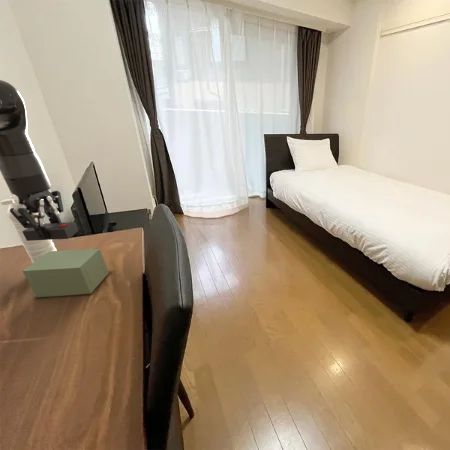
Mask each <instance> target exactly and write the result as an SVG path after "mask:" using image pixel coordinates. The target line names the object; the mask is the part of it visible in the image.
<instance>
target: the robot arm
mask: <svg viewBox="0 0 450 450" xmlns="http://www.w3.org/2000/svg"><path fill="white" fill-rule="evenodd" d="M27 117H28V116H27V109H26V104H25V100H24V97H23V96H22V94H21V93H20V92H19V91H18V90H17V88H16V87H15V86H14V85H13V84H11V83H10V82H7V81H6V80H3V79H0V173H1V175H2V177H3V179H4V181H5V184H6V185H7V187H8V190H9V191H10V193H11V194H12V195H16V196H17V197H18V200H19V205H18V206H17V207H16V208H11V209H10V212H11V213H12V214H13V216H14V217H15V218H16V219H17V220H18V221H19V222H20V224H21V225H22V226H23V227H24V228H34V230H35V232H36V234H37V236H38V238H40V239H41V240H46V239H49V238H51V236H50V234H49V232H48V230H47V227H46V225H45V226H44V224H45V219H44V218H45V217H48V221H49V223H63V222H62V220H61V213H64V204H63V199H62V194H61V191H60V190H50V189H51V188H52V184H51V182H50V179H49V176H48V174H47V172H46V170H45V167H44V165H43V162H42V160H41V158H40V156H39V155H38V154H37V152H36V150H35V147H34V144H33V142H32V140H31V138H30V135H29V131H28V130H29V129H28V118H27ZM32 213H38V214H37V215H34V214H32ZM35 218H37V219H38V222H36V221H35ZM27 221H28V222H29V223H28V222H27Z"/></svg>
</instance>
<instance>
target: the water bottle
mask: <svg viewBox="0 0 450 450" xmlns="http://www.w3.org/2000/svg"><path fill="white" fill-rule="evenodd" d="M0 203H1V205H2V206H8V208H7V211H6V216H7V217H8V219H9V221H10V222H11V225H12V226H13V229H14V230H15V232H16V234H17V236H18V238H19V241H20V243H22V246H23V248H24V249H25V251H26V253H27V255H28V258H29V259H30V261H31V264H33V263H34V262H35V261H37V260H38V259H39V258H41V257H42V256H44V255H45V254H46V253H48V252H49V251H58V250H57V248H56V247H55V243H54V242H53V239H52V240H33V241H27V240H26V238H25V236H24V234H23V232H22V231H24V230H26V229H27V228H24V227H23V226H22V225H21V224H20V222H19V221H18V220H17V219H16V218H15V217H14V216H13V214H12V213H11V212H10V209H11V208H16V207H17V206H18V205H19V200H18V197H17V196H16V195H14V194H12V195H9V198H6V199H5V198H4V199H2V200H0ZM32 214H34V215H37V214H38V213H32ZM35 221H36V222H38V219H37V218H35ZM27 222H28V221H27ZM28 223H29V222H28Z"/></svg>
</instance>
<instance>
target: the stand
mask: <svg viewBox="0 0 450 450" xmlns="http://www.w3.org/2000/svg"><path fill="white" fill-rule="evenodd" d="M22 273H23V275H24V276H25V278H26V280H27V282H28V284H29V286H30V288H31V289H32V291H33V293H34V295H35V297H36V298H47V297H48V298H51V297H64V296H78V295H90V294H92V293H93V292H94V291H95V289H97V287H98V286H99V285H100V284H101V282H102V281H103V280H104V279H105V278H106V277H107V276H108V275H109V273H110V272H109V269H108V266H107V264H106V262H105V259H104V256H103V253H102V250H101V248H86V249H85V248H84V249H83V248H82V249H68V250H67V249H65V250H57V251H49V252H48V253H46V254H45V255H44V256H42V257H41V258H39V259H38V260H37V261H35V262H34V263H31V264H30V265H29V266H27V267H26V268H24V269H23V270H22Z"/></svg>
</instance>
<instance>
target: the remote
mask: <svg viewBox="0 0 450 450" xmlns="http://www.w3.org/2000/svg"><path fill="white" fill-rule="evenodd" d="M45 225H46V227H47V230H48V232H49V234H50V236H51V238H49V239H46V240H52V241H53V240H67V239H68V240H69V239H70V238H72V237H73V236H74V235H75V234H76V233H78V232H79V229H78V226H77V224H76V222H75V221H71V222H68V221H67V222H62V223H50V222H48V223H45V222H44V226H45ZM22 232H23V234H24V236H25V238H26V240H27V241H33V240H41V239H40V238H38V236H37V234H36V232H35V230H34V228H27V229H26V230H24V231H22Z"/></svg>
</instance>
